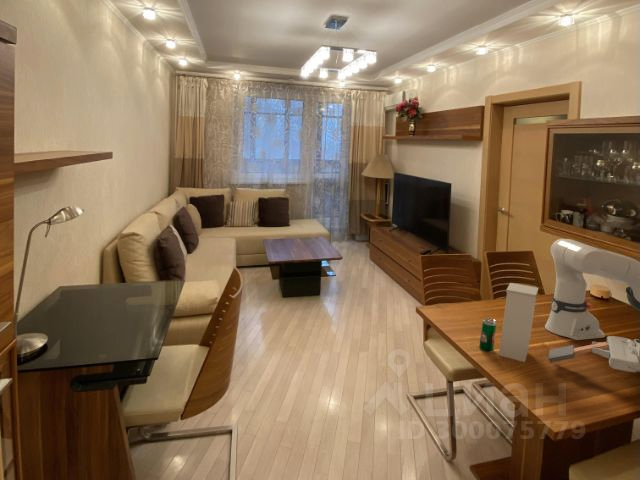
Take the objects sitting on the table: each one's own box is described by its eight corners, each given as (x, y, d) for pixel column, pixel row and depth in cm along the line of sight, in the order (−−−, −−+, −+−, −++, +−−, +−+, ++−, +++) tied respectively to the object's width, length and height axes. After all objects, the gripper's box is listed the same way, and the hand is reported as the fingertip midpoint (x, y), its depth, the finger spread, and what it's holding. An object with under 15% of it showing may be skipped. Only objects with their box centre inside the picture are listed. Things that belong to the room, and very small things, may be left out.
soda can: (476, 346, 164) (480, 317, 162) (489, 346, 165) (493, 317, 162) (482, 352, 159) (486, 323, 157) (495, 352, 160) (499, 323, 157)
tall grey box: (528, 352, 161) (538, 287, 155) (525, 362, 153) (535, 295, 147) (501, 345, 166) (510, 282, 160) (497, 355, 158) (506, 289, 152)
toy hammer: (606, 342, 145) (604, 338, 145) (608, 351, 138) (606, 347, 138) (551, 353, 155) (549, 349, 155) (550, 362, 148) (548, 358, 148)
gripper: (644, 381, 129) (591, 368, 136) (636, 354, 146) (589, 344, 153) (648, 362, 128) (594, 350, 135) (639, 338, 145) (592, 328, 152)
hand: (592, 346), depth 144 cm, fingers closed on toy hammer, 3 cm apart
